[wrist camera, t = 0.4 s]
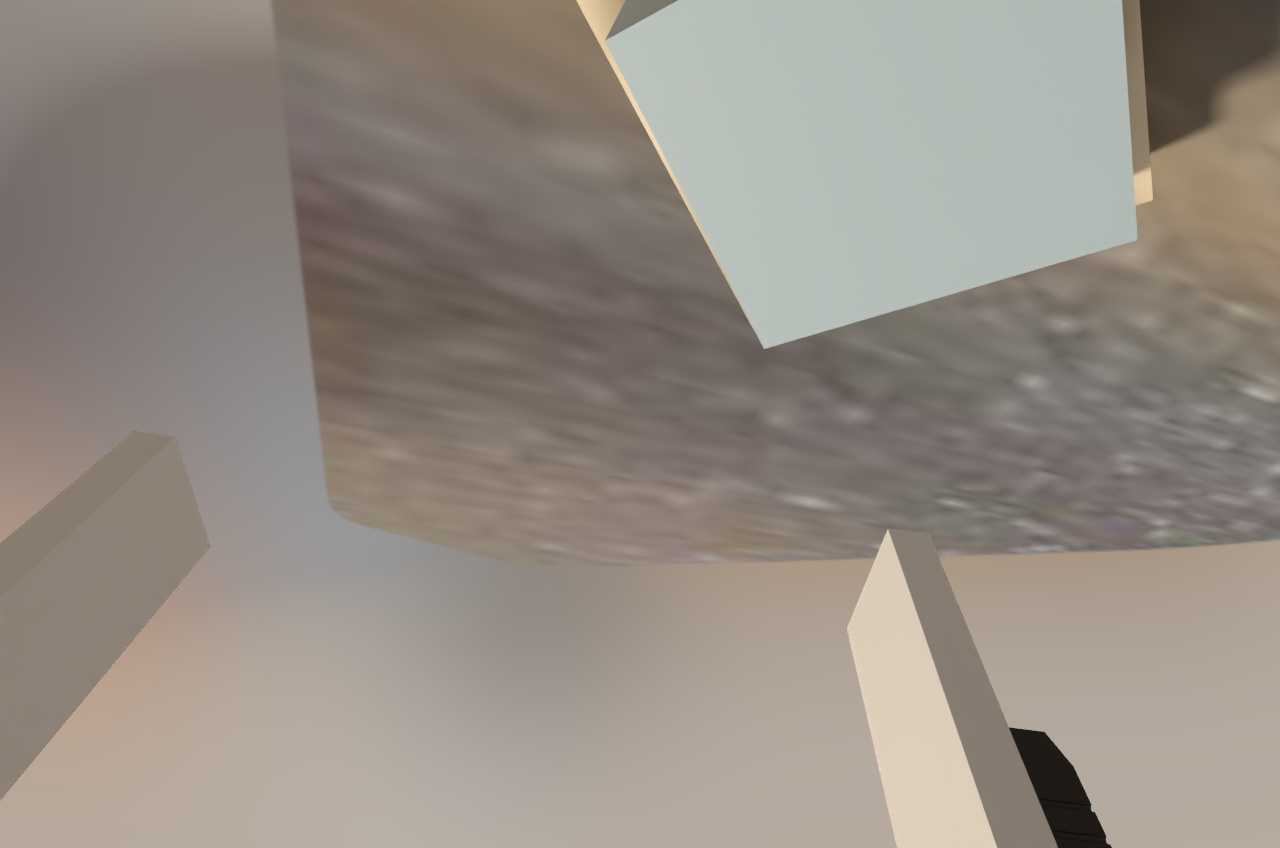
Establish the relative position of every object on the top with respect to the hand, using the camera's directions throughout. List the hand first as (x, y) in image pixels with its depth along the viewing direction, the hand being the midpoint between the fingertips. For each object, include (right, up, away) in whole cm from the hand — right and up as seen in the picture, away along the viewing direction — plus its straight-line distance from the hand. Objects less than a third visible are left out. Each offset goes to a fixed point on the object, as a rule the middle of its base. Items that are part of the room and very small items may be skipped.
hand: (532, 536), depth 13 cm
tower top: (+11, +15, +15) cm, 24 cm away
